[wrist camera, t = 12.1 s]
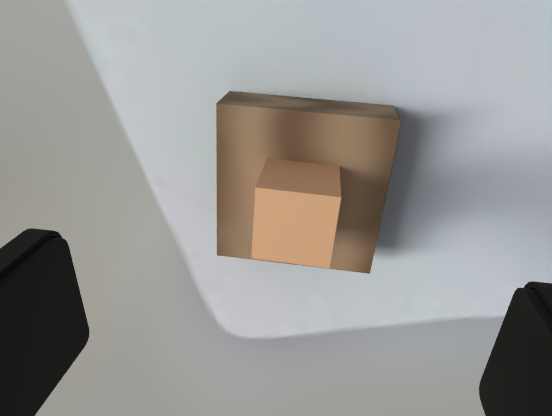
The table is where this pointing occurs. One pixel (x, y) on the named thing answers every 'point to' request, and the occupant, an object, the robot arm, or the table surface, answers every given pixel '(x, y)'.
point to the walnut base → (305, 148)
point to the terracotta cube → (296, 212)
